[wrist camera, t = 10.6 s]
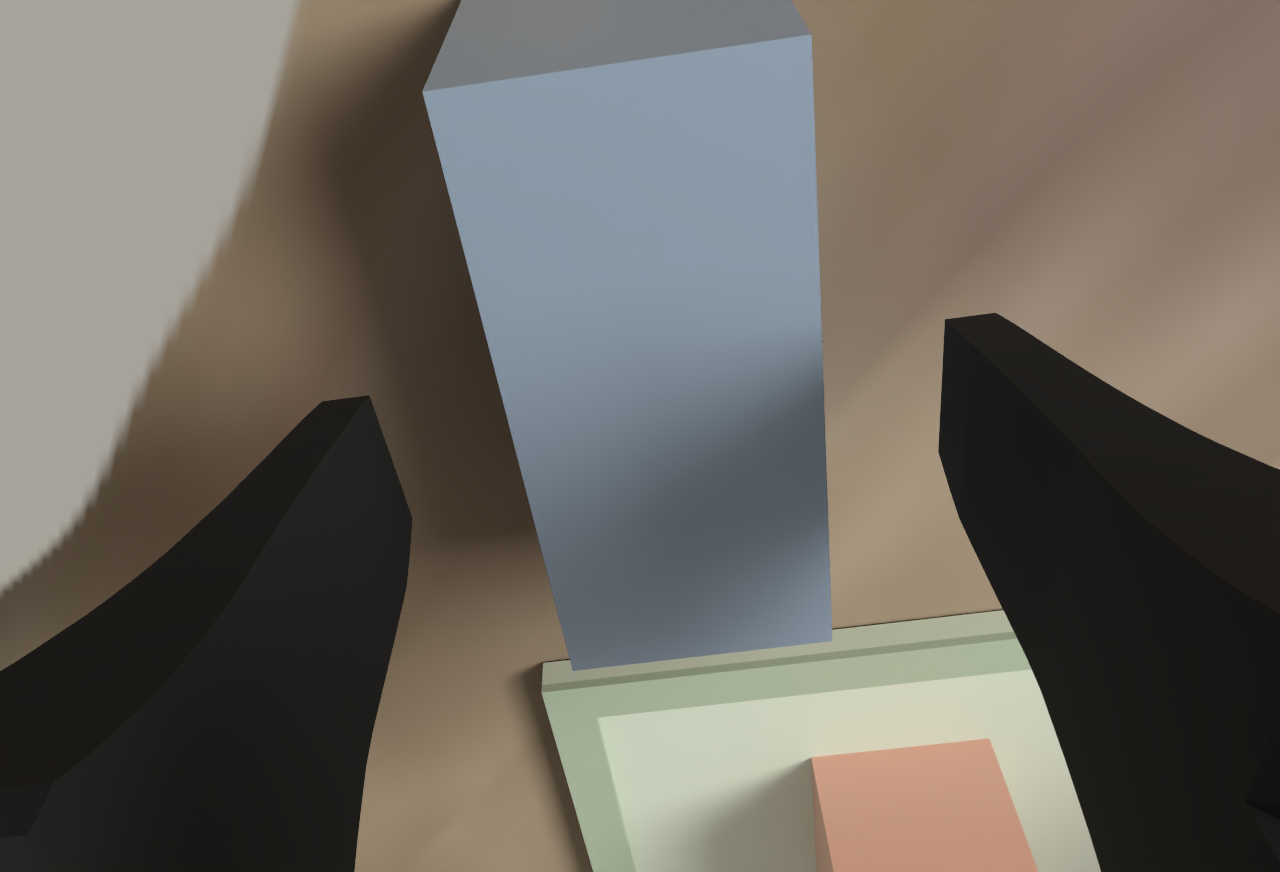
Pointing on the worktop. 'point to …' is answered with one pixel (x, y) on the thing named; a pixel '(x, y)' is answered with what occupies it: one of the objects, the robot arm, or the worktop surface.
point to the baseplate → (797, 742)
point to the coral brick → (917, 811)
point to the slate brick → (651, 308)
